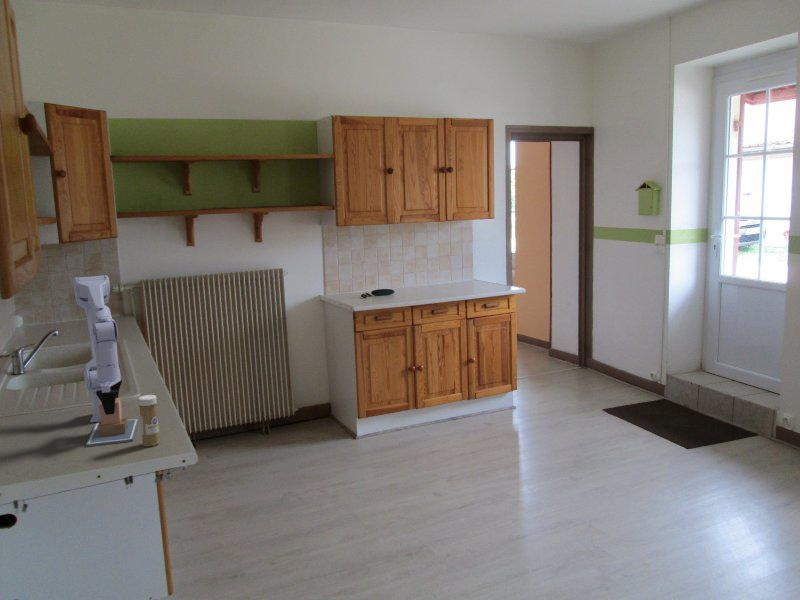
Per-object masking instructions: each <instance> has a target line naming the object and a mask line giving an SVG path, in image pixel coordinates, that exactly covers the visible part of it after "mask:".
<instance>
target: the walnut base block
mask: <svg viewBox="0 0 800 600" xmlns="http://www.w3.org/2000/svg"><path fill="white" fill-rule="evenodd" d="M128 420H129V419H128V415H125V416H124V415H122V419H121V422H120V423H115V424H106V425H101V420H100V421H99V422H98V423H99V425H98V435H99V437H101V436H109V435H118V434H125V433H126V430H127V427H128Z"/></svg>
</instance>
